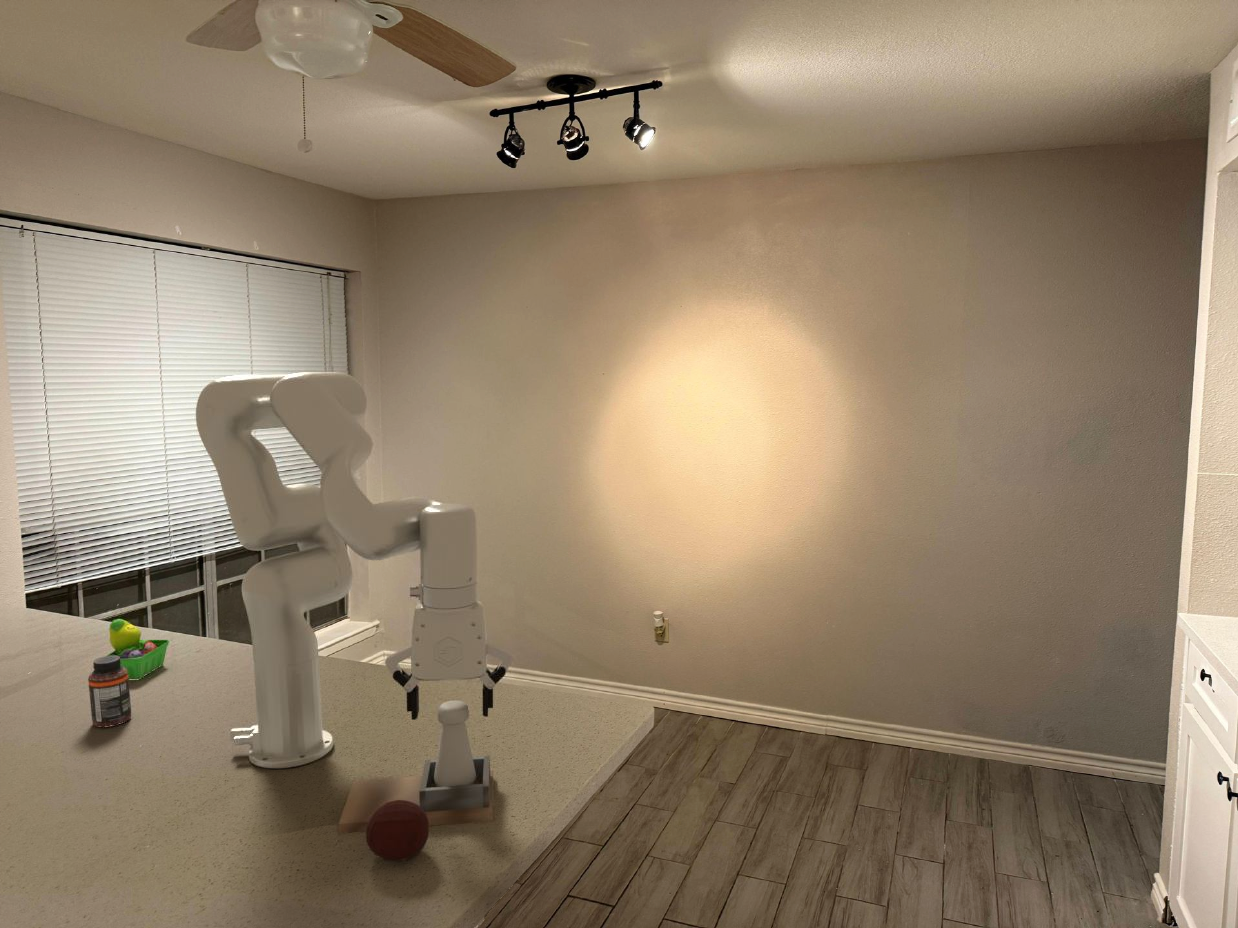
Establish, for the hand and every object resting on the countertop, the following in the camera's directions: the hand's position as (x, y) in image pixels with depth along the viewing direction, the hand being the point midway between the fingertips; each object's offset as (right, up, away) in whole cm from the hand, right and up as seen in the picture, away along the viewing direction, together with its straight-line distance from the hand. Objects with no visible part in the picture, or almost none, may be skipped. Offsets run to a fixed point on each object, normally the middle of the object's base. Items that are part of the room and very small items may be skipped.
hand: (450, 714), depth 120 cm
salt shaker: (+1, -12, +1) cm, 12 cm away
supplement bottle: (-65, -10, +30) cm, 72 cm away
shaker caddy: (-4, -13, +1) cm, 13 cm away
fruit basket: (-74, -8, +54) cm, 92 cm away
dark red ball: (-4, -14, -12) cm, 19 cm away
